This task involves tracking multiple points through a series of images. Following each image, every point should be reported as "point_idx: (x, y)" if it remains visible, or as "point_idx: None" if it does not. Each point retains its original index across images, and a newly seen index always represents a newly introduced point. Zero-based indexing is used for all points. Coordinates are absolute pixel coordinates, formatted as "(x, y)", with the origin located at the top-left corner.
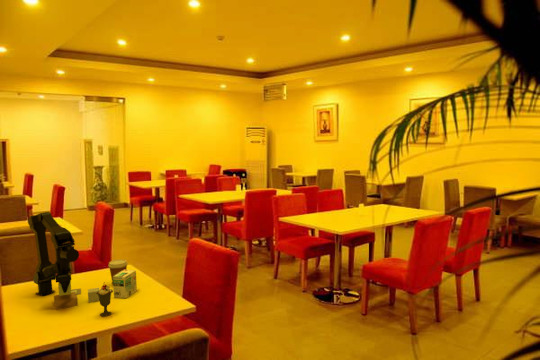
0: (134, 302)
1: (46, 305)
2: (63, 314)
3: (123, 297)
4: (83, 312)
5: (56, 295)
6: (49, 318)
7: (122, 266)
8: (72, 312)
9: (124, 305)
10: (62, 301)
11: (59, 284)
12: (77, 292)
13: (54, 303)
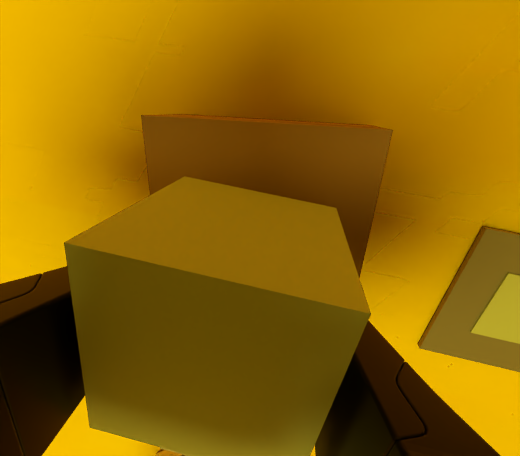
0: (90, 451)
1: (366, 39)
2: (57, 150)
3: (161, 453)
4: (48, 264)
5: (373, 162)
6: (8, 31)
7: None
8: (72, 211)
9: (71, 419)
10: (154, 185)
11: (100, 274)
12: (473, 338)
13: (348, 124)
